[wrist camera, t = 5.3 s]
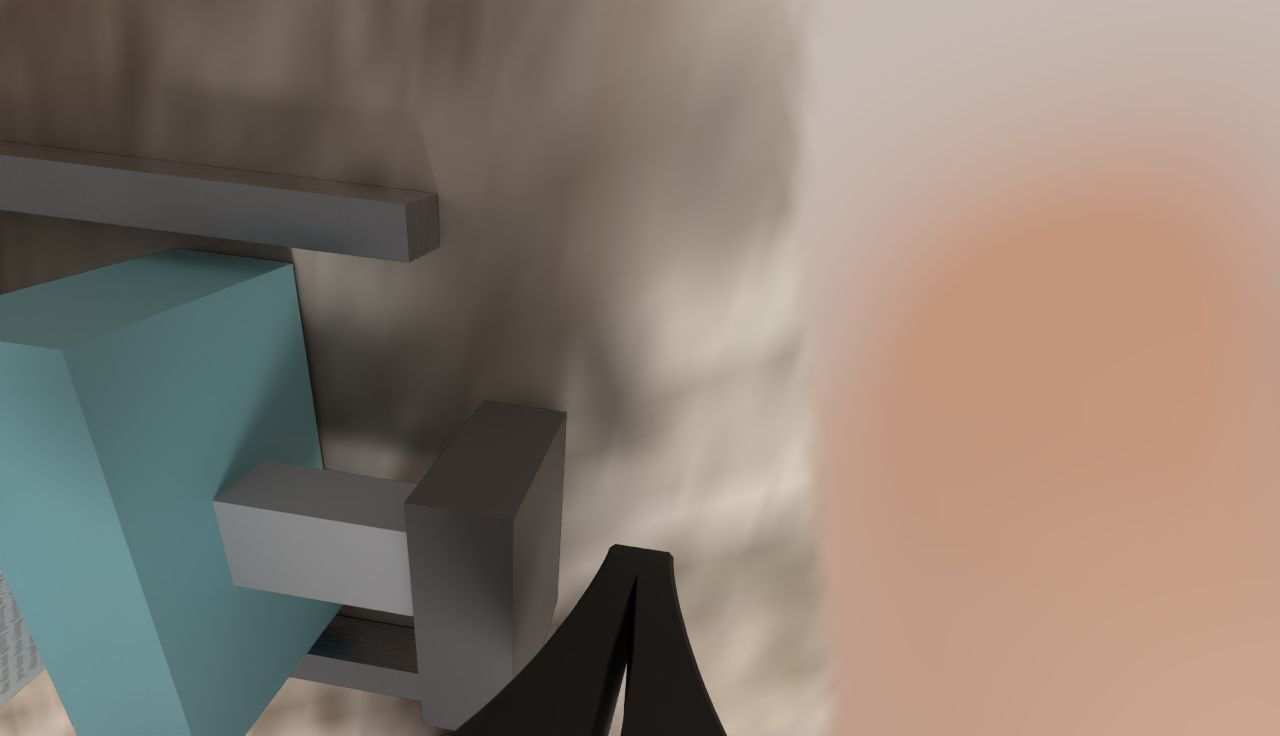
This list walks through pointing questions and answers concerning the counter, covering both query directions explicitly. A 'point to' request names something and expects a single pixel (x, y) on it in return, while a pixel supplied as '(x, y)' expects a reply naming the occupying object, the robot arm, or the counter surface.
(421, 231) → the vise
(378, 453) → the counter surface
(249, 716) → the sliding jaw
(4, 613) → the small box
